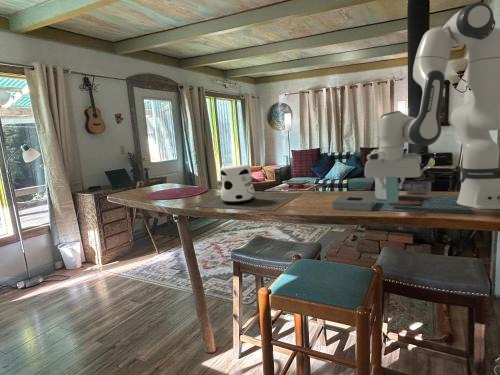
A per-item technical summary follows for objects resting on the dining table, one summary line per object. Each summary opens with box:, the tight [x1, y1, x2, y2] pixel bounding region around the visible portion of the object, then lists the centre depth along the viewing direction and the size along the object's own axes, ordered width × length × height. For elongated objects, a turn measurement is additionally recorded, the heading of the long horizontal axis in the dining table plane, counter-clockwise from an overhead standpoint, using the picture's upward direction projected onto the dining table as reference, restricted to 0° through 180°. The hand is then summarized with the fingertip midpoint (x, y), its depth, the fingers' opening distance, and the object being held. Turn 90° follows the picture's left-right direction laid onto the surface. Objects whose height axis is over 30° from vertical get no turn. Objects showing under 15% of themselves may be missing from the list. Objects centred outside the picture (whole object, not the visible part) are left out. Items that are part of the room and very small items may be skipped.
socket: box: [331, 194, 378, 212], centre depth 136 cm, size 15×15×3 cm
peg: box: [385, 177, 399, 203], centre depth 128 cm, size 4×4×10 cm
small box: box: [374, 178, 386, 201], centre depth 146 cm, size 8×6×13 cm
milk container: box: [219, 164, 255, 204], centre depth 163 cm, size 17×17×18 cm
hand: (392, 188), depth 128 cm, fingers closed on peg, 4 cm apart
